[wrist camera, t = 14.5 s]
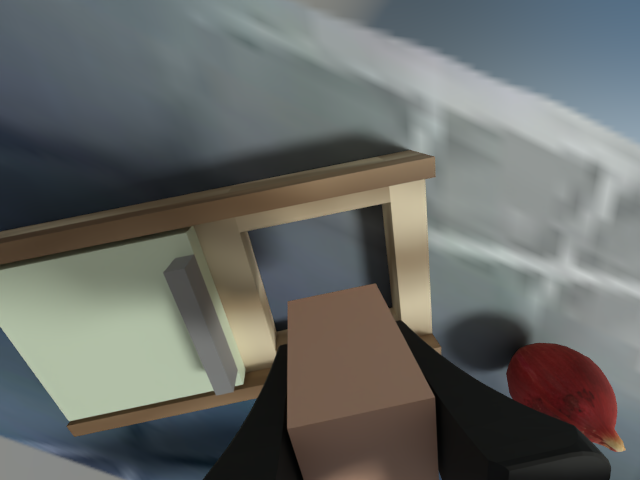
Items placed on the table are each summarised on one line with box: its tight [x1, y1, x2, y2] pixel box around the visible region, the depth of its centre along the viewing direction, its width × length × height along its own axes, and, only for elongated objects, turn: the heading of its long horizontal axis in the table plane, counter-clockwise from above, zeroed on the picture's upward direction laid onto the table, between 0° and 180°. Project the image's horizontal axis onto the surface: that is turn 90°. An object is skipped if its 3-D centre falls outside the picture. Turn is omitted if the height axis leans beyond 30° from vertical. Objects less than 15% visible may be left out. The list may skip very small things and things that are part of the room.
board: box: [0, 150, 441, 437], centre depth 19 cm, size 13×24×3 cm, turn 100°
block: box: [287, 283, 439, 480], centre depth 12 cm, size 4×4×6 cm
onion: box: [506, 343, 626, 452], centre depth 21 cm, size 6×6×8 cm
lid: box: [0, 226, 246, 421], centre depth 17 cm, size 10×11×3 cm
